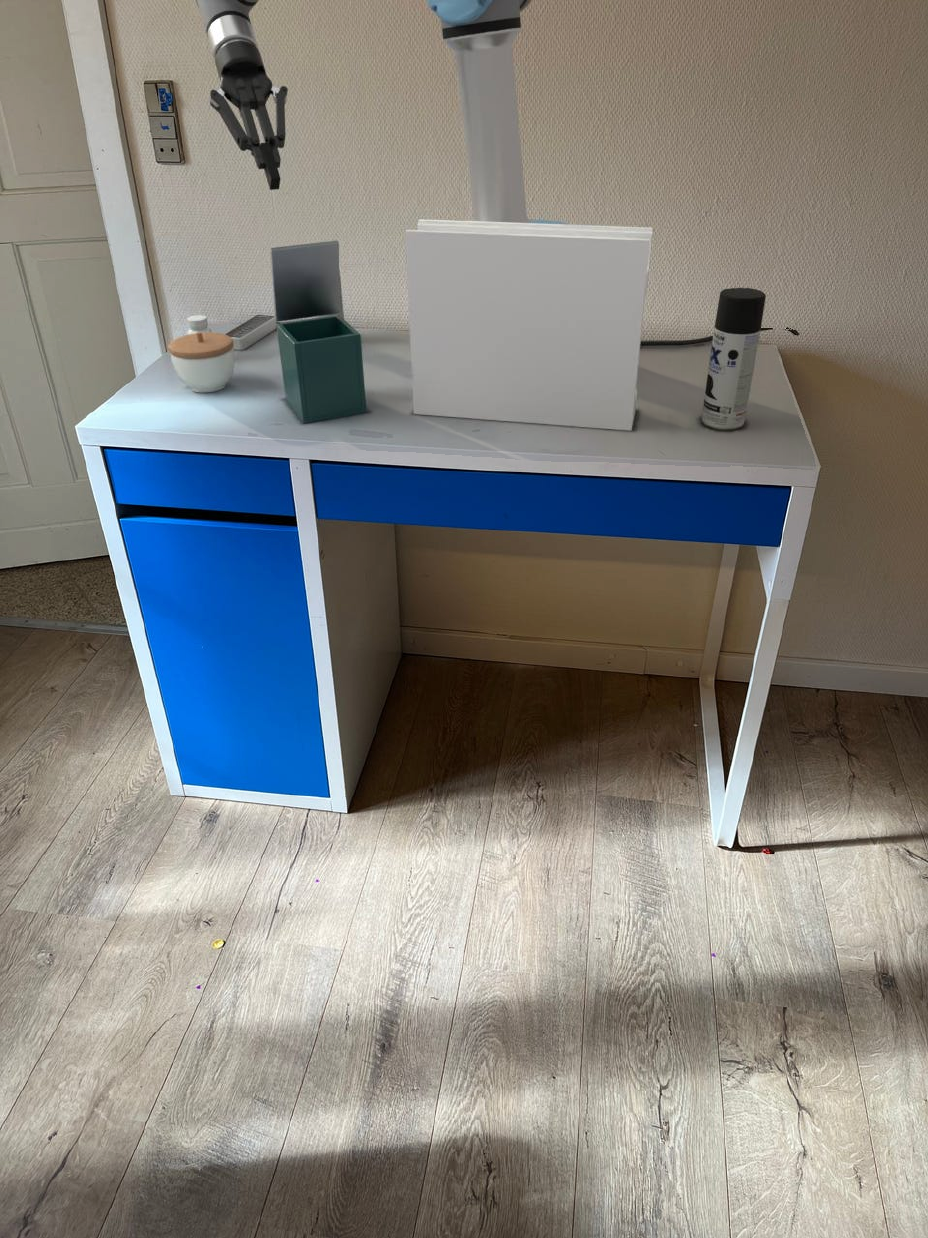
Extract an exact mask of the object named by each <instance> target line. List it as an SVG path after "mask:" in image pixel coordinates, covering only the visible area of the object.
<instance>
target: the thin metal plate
mask: <svg viewBox="0 0 928 1238" xmlns="http://www.w3.org/2000/svg"><path fill="white" fill-rule="evenodd" d="M269 251H270V264H271V265H270V268H271V280H272V281H271V282H272V295H273V296H272V297H273V309H274V311H273V312H274V316H275V320H276V323H280V322H287V321H292V320H293V321H294V320H299V319H300V320H301V319H309V318H312V317H315V316H322V315H329V314H336V313H340V294H339V269H340V242H339V241H338V240H329V241H321V242H320V241H319V242H312V243H303V244H294V245H285V246H276V247H269Z"/></svg>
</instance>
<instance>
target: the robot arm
mask: <svg viewBox="0 0 928 1238" xmlns="http://www.w3.org/2000/svg"><path fill="white" fill-rule="evenodd" d="M259 1H260V0H195V3H196V5H197V8H198V10H199V13H200V16H201V19H202V24H203V26H204V29H205V33H206V36H207V39H208V43H209V47H210V50H211V54H212V57H213V60H214V63H215V64H214V65H215V67H216V71H217V74H218V77H219V81H220V83H219V88H218V89H217V90H216V89H211V90H210V92H209V105H210V107H211V108H213V109H214V110H215V112H217V113H218V114H219V115H220V118H221V119H222V120H223V123H224V124H225V126H226V128H227V129H228V131H229V133H230V135H231V136H232V138H233V140H234V142H235V143H236V145H237V147H238V148H239V150H240V151H241V152H246V151H250V154H251V156H252V157H254V158H253V159H254V162H255V164H256V167H257V169H258V170H263V171H264V174H265V177H266V181H267V184H268V187H269V190H270V191H273V190H275V191H276V190H280V186H281V185H280V184H281V180H282V179H281V175H280V172H279V169H280V167H281V162H282V161H281V160H282V158H281V156H280V155H281V154H280V150H279V149H283V148H285V144H286V135H287V134H286V108H285V106H286V103H287V98H288V91H289V89H288V87H287V86H285V85H282V86H281V87H277V86H275V85H274V84H273V82H272V80H271V79H270V78H269V76H268V75H267V71H266V67H265V65H264V61H263V58H262V55H261V51H260V50H259V49H260V47H259V45H258V42H257V39H256V36H255V32H254V28H253V25H252V21H251V18H250V12H251V11H252V10H253V8H254V7H255V6H256V5H257V3H258V2H259ZM426 2H427V4H428V7H429V8H430V9H431V11H433V13H434V14H435V16H436V17H437V18H438V19H439V20H440V24H441V32H442V34H441V35H442V42H443V43H444V44H445V45H446V46H448V48H449V49H450V50H451V51H452V52H453V53H454V56H455V64H456V73H457V74H456V75H457V83H458V90H459V101H460V108H461V118H462V126H463V135H464V137H463V138H464V146H465V154H466V163H467V171H468V172H467V173H468V179H469V180H468V182H469V189H470V198H471V207H472V216H473V217H472V218H473V221H483V222H511V223H539V224H567V225H570V224H569V223H567V222H563V221H558V220H551V219H535V218H532V219H531V218H528V213H527V206H526V193H525V180H524V171H523V170H524V168H523V156H522V145H521V133H520V132H521V131H520V122H519V109H518V96H517V85H516V84H517V83H516V73H515V62H514V49H513V46H514V42H515V40H517V37H518V36H519V34H520V33H521V31H522V21H521V20H522V19H521V12H522V11H524V10H525V9H526V8H527V7H528V6H529V5H530V3H531V2H532V0H426ZM270 96H272V100H273V102H274V104H275V130H276V132H275V131H274V128H273V124H272V123H271V119H270V115H269V111H268V108H267V105H266V104H267V102H268V100H269V98H270ZM228 101H229V102H230V103H231V104H232V105H233V106H234V107H235V108H237V109H238V112H239V115H240V118H241V120H242V124H243V126H242V125H241V123H240V121H239V119H238V117H237V116H236V114H235V113H234V111H233V109H232V107H231V106H230V104H229V103H228ZM252 110H253V111H254V113H255V117H257V121H258V124H259V127H260V130H261V133H262V138H263V141H264V142H261V140H260V136H259V133H258V132H259V131H258V128H257V125H256V122H255V119H254V115H253V111H252ZM275 134H276V135H275ZM786 329H789V328H788V327H787V328H786ZM786 329H783V330H784V331H787V332H790V333H791V334H792V335H793V336H801V334H800V333H799V331H798V330H797V329H795V328H794V329H795V330H793V329H792V330H790V329H791V328H790V329H789V330H786ZM770 330H771V331H772V330H774V329H773V328H761V330H760V332H765V331H770ZM712 341H713V335H709V336H705V337H700V338H695V339H694V338H693V339H683V340H641V343H640V347H676V346H679V347H680V346H693V345H700V344H705V343H709V342H712Z"/></svg>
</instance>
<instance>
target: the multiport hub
mask: <svg viewBox="0 0 928 1238" xmlns="http://www.w3.org/2000/svg"><path fill="white" fill-rule="evenodd" d="M276 324H278V322H276V320H275V315H266V314H256V315H253V317H251V318H249V319H247V320H246V321H244V322H242V323H240V324H239V325H237V326H236V327H234V328H232V329H231V330H229V331H228V332H226V333H224V334H225V335H228V336H230V337H231V338H232V339H233V345H234V346H233V349H234V350H235V351H236V350H237V351H244V350H246V349H247V348H249V347H250V346H251V345H253V344H255V343H256V342H258V341H259V340H261V339H263V338H264V337H266V336H267V335H269V334H270V333H272V332H274V331H275V330H277V327H276Z"/></svg>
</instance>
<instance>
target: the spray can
mask: <svg viewBox="0 0 928 1238" xmlns="http://www.w3.org/2000/svg"><path fill="white" fill-rule="evenodd" d="M766 299H767V295H766V293H765V292H763V291H762V290H759V289H756V288H751V287H730V288H724V289H722V290H721V291H720V293H719V298H718V303H717V309H716V315H715V320H714V321H715V323H714V329H713V334H712V336H713V341H711V348H710V354H709V356H710V357H709V363H708V370H707V378H706V384H705V391H704V398H703V405H702V412H701V421H702V423H703V424H704V425H705V426H706V427H708V428H710V429H713V430H718V431H736V430H739V429H740V428H742V427H743V426H744V424H745V421H746V417H747V411H748V404H749V399H750V392H751V387H752V381H753V375H754V370H755V365H756V358H757V354H758V353H757V352H758V347H759V341H760V335H761V331H760V330H761V326H763V325H762V323H763V318H764V311H765V304H766Z"/></svg>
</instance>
